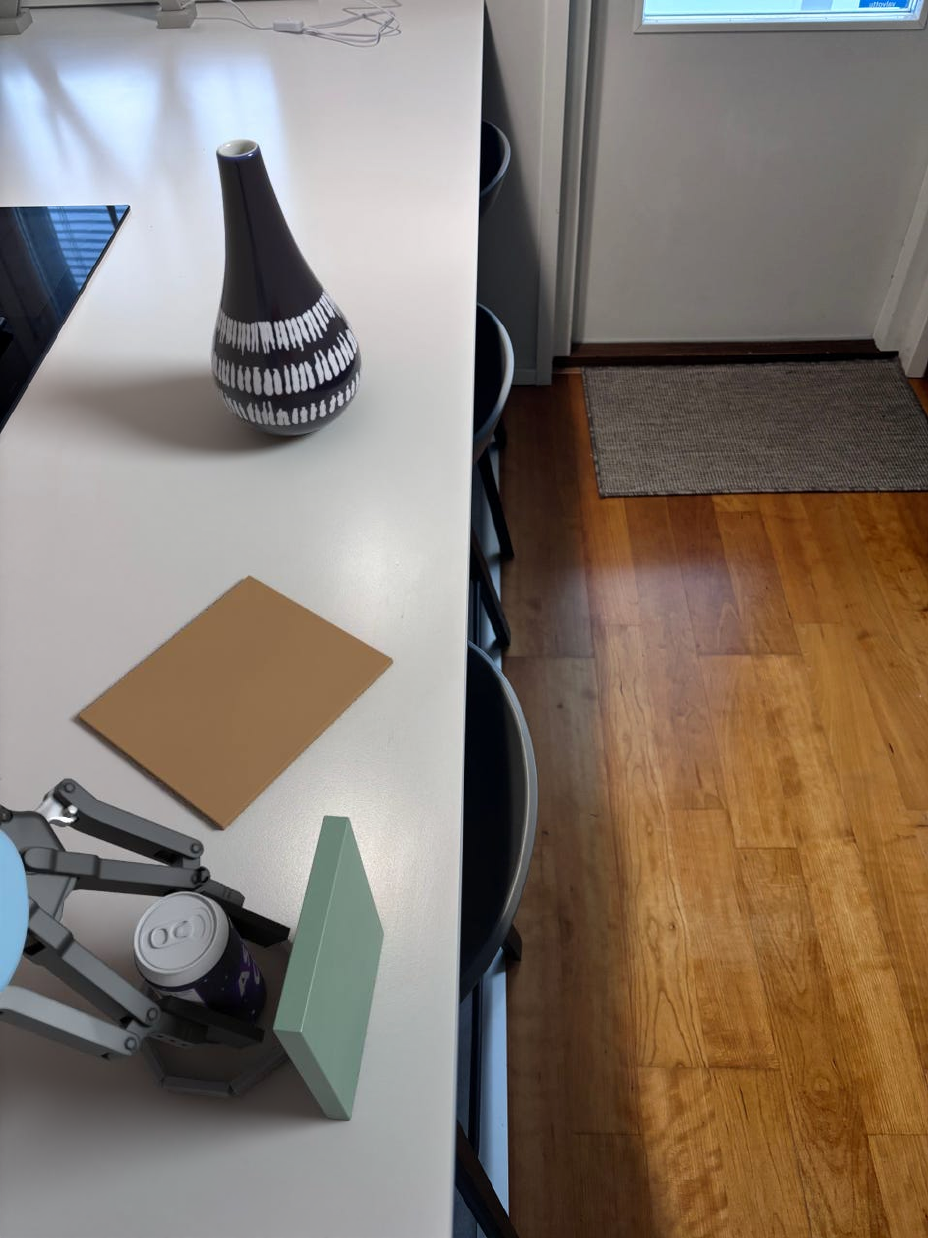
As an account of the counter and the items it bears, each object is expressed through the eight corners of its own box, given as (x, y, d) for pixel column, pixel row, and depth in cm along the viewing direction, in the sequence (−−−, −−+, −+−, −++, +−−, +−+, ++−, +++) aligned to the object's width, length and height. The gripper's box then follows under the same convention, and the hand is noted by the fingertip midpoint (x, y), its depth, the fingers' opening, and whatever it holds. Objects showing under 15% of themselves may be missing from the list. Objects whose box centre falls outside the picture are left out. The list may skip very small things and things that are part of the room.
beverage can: (275, 1033, 62) (231, 962, 53) (189, 1061, 61) (129, 993, 52) (263, 952, 66) (219, 873, 57) (181, 977, 65) (123, 901, 56)
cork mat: (224, 830, 72) (222, 826, 72) (80, 719, 80) (77, 715, 80) (393, 663, 82) (392, 658, 82) (250, 579, 90) (249, 574, 90)
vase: (205, 452, 104) (114, 181, 82) (263, 370, 114) (197, 108, 92) (340, 471, 100) (284, 192, 78) (388, 384, 110) (350, 115, 88)
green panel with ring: (115, 1093, 60) (9, 1002, 48) (174, 914, 68) (96, 797, 56) (350, 1121, 58) (301, 1033, 46) (384, 933, 66) (349, 816, 54)
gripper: (-45, 722, 58) (271, 867, 68) (-224, 1038, 46) (192, 1158, 56) (-1, 673, 54) (330, 837, 64) (-188, 1010, 41) (258, 1146, 52)
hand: (265, 987), depth 60 cm, fingers closed on beverage can, 6 cm apart
